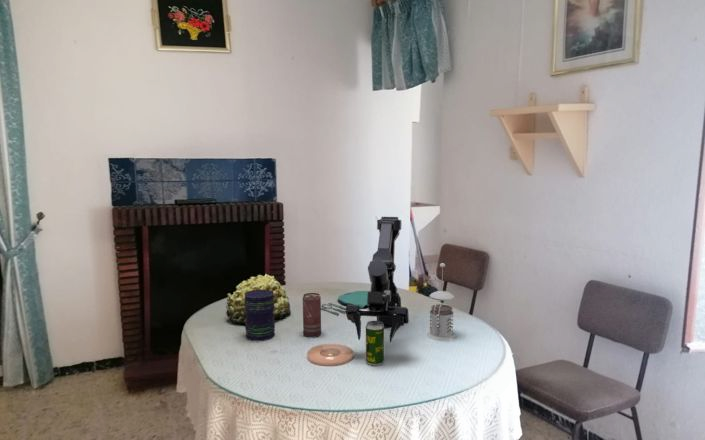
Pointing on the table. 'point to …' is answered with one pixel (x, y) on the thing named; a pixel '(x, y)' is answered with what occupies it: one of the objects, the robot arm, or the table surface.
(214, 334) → the table surface
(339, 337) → the table surface
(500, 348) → the table surface
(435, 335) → the french press
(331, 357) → the saucer
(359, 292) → the cutlery set
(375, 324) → the beer can
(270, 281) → the cauliflower
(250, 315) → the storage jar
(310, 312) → the can
